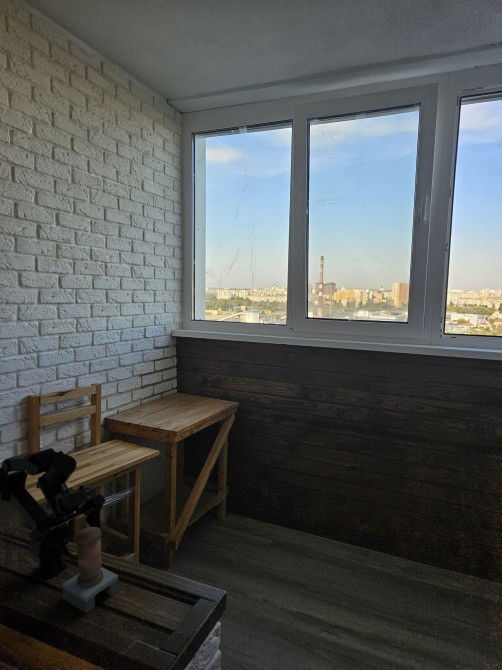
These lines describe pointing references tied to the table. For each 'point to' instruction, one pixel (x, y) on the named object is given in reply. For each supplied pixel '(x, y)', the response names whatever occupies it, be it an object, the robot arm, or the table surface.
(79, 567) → the brown flanged cylinder
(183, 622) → the table surface
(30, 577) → the table surface
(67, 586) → the grey bridge block
